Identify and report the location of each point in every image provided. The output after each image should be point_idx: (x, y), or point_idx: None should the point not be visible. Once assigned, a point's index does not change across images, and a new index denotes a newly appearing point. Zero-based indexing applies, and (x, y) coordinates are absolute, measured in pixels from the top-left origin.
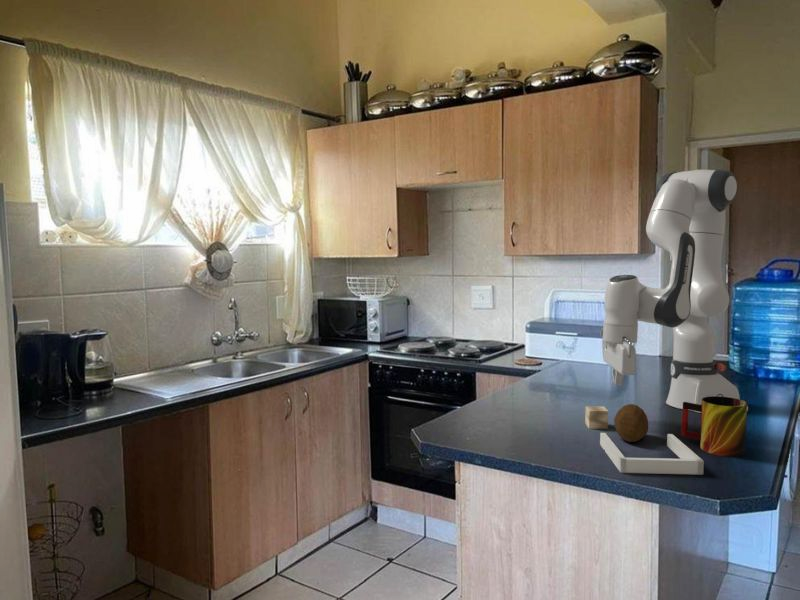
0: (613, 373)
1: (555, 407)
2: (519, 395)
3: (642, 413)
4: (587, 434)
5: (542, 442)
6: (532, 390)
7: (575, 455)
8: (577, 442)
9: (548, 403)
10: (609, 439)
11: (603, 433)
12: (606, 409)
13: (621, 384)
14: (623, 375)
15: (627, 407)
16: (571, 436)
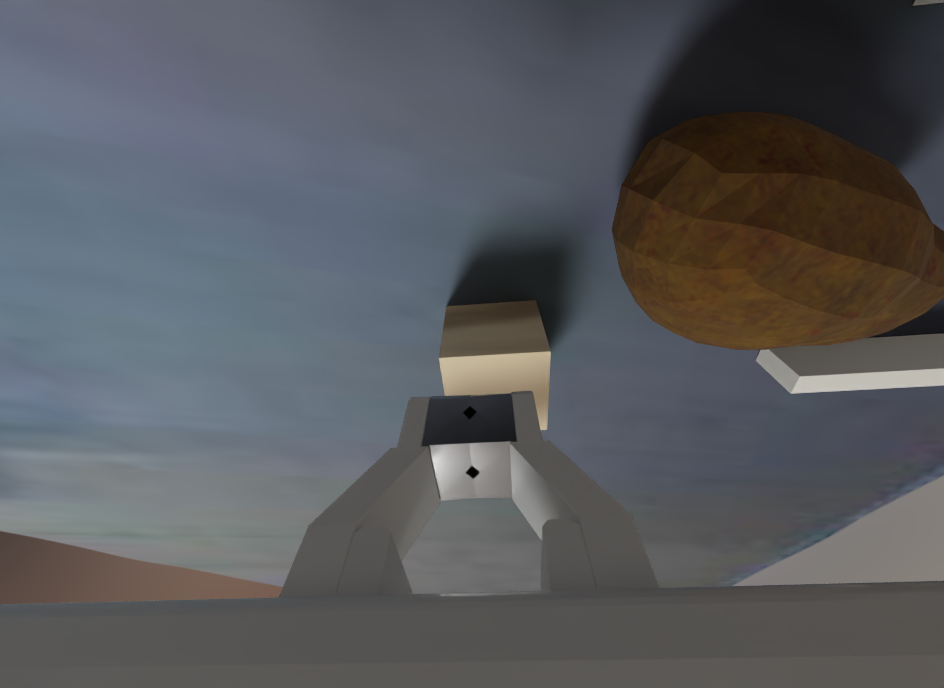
0: (408, 545)
1: (241, 445)
2: (131, 521)
3: (916, 203)
4: (615, 384)
5: (685, 495)
6: (11, 491)
7: (840, 437)
8: (708, 421)
9: (190, 460)
10: (904, 374)
11: (805, 383)
12: (508, 354)
13: (533, 400)
14: (607, 499)
15: (844, 327)
16: (635, 430)
